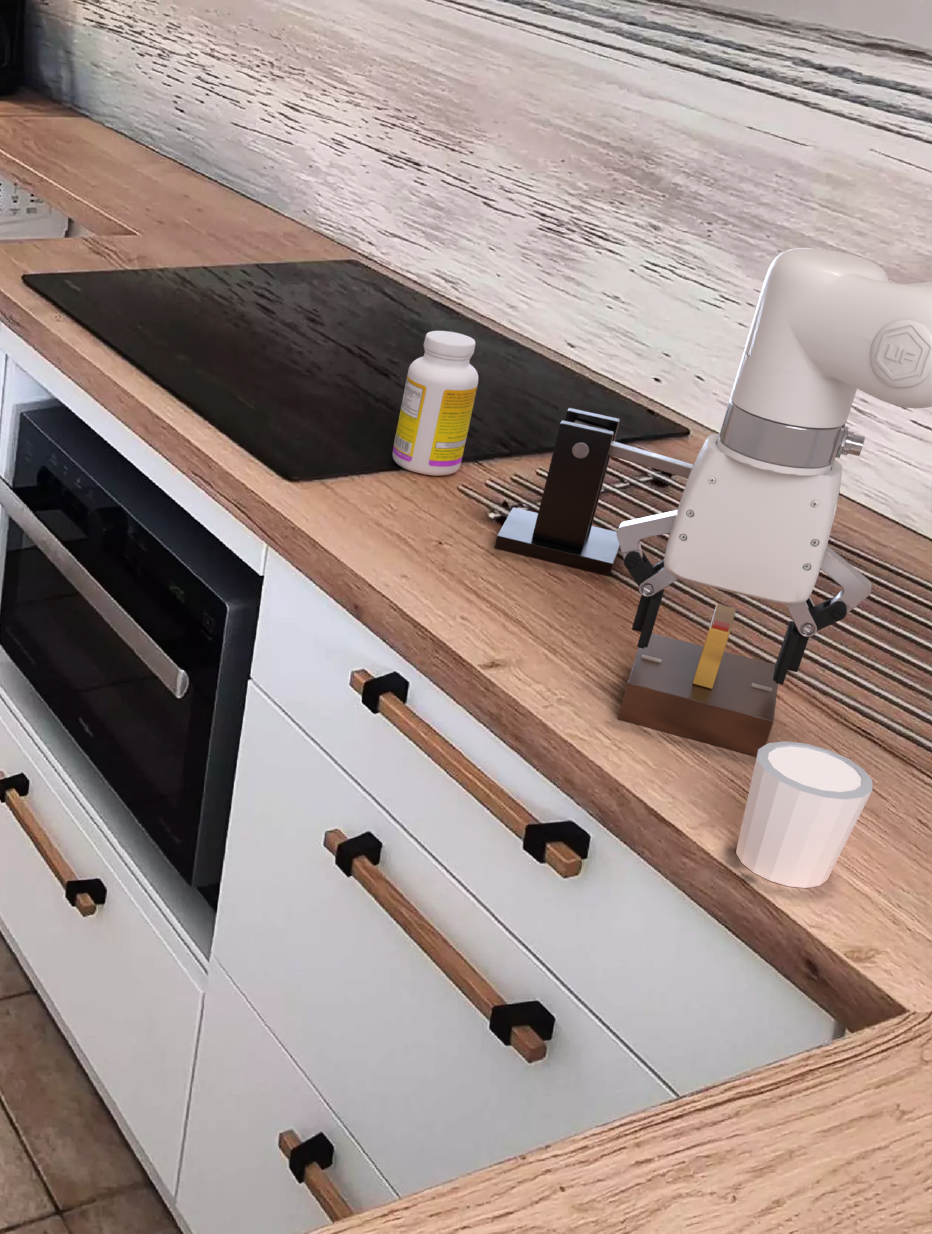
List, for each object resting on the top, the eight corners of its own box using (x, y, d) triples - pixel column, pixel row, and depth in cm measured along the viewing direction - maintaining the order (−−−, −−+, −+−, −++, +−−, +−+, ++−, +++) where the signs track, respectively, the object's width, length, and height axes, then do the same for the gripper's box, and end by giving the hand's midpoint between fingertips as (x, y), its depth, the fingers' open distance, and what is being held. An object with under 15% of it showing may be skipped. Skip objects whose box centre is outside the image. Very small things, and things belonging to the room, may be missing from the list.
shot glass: (801, 831, 114) (833, 739, 111) (860, 893, 108) (897, 797, 105) (705, 832, 112) (736, 739, 109) (760, 894, 106) (794, 797, 103)
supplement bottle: (467, 464, 171) (495, 338, 165) (448, 483, 166) (476, 353, 160) (402, 448, 174) (427, 322, 168) (381, 466, 168) (407, 337, 162)
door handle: (707, 481, 149) (717, 455, 148) (702, 499, 145) (712, 472, 144) (569, 440, 153) (577, 415, 151) (560, 457, 148) (569, 431, 147)
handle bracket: (621, 545, 156) (655, 421, 151) (609, 576, 149) (644, 447, 144) (510, 519, 159) (539, 396, 154) (494, 548, 152) (524, 420, 147)
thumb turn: (699, 657, 129) (717, 600, 127) (719, 662, 129) (737, 605, 126) (692, 683, 125) (710, 624, 123) (712, 689, 124) (730, 630, 122)
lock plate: (768, 700, 131) (781, 663, 129) (761, 758, 122) (774, 719, 121) (633, 665, 134) (644, 628, 132) (617, 719, 126) (628, 680, 124)
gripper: (914, 449, 119) (837, 671, 127) (656, 394, 124) (597, 609, 132) (915, 482, 112) (834, 713, 120) (643, 422, 118) (582, 646, 126)
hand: (710, 658), depth 126 cm, fingers open, 9 cm apart
